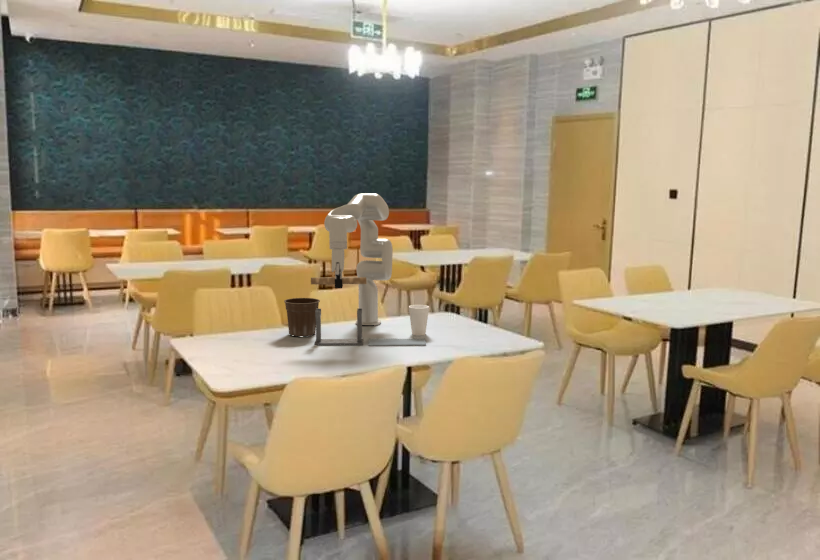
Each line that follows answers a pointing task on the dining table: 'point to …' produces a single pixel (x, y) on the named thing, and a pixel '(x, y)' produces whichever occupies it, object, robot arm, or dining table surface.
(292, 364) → the dining table surface
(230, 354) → the dining table surface
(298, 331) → the plant pot
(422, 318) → the foam cup
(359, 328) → the cradle stands
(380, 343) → the slate mat
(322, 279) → the oak dowel
